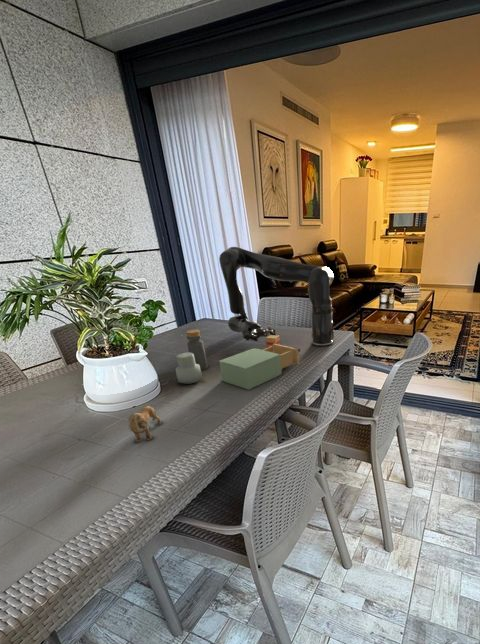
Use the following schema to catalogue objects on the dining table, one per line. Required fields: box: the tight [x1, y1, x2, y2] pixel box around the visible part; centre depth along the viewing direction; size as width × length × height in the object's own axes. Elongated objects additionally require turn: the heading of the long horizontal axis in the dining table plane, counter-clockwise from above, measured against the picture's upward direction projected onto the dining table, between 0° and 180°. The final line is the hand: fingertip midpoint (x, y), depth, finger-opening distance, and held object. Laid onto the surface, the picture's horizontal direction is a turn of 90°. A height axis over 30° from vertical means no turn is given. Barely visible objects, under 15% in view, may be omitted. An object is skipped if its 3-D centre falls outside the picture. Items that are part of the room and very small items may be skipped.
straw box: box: [265, 334, 281, 348], centre depth 150 cm, size 4×4×8 cm
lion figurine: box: [127, 405, 162, 443], centre depth 95 cm, size 15×5×9 cm, turn 13°
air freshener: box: [175, 351, 203, 385], centre depth 127 cm, size 11×8×10 cm
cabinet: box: [219, 347, 283, 391], centre depth 128 cm, size 17×14×8 cm
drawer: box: [262, 344, 301, 370], centre depth 138 cm, size 20×13×6 cm, turn 143°
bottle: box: [185, 329, 209, 371], centre depth 137 cm, size 6×6×15 cm
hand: (265, 337), depth 155 cm, fingers open, 8 cm apart
